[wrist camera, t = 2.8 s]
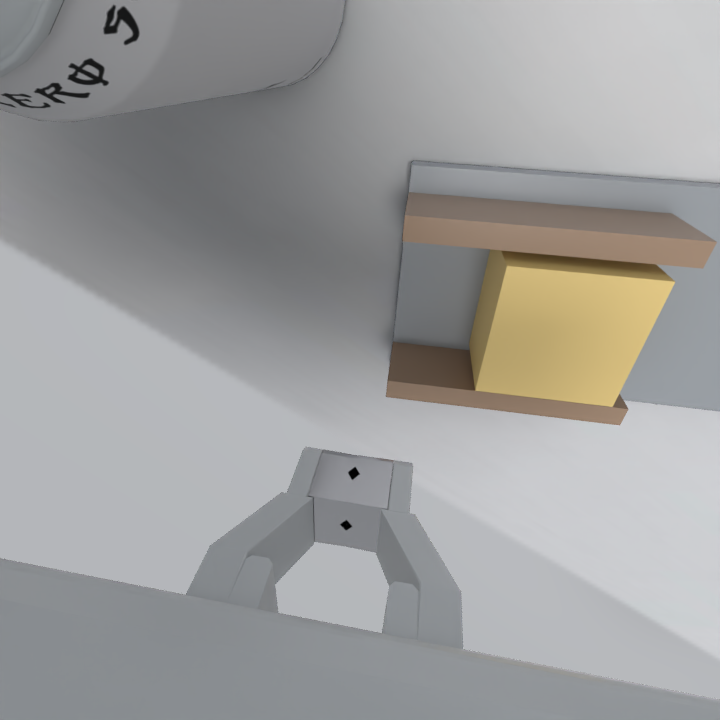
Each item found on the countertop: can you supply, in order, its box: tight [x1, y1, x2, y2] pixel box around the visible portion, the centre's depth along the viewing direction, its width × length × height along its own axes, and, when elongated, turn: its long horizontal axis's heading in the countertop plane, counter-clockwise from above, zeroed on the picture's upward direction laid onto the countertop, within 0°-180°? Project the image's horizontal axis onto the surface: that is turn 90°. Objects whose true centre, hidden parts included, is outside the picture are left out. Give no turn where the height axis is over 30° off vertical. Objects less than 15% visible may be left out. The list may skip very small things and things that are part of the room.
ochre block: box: [469, 249, 675, 407], centre depth 19 cm, size 6×6×4 cm
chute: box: [386, 161, 720, 425], centre depth 20 cm, size 20×11×4 cm, turn 87°
